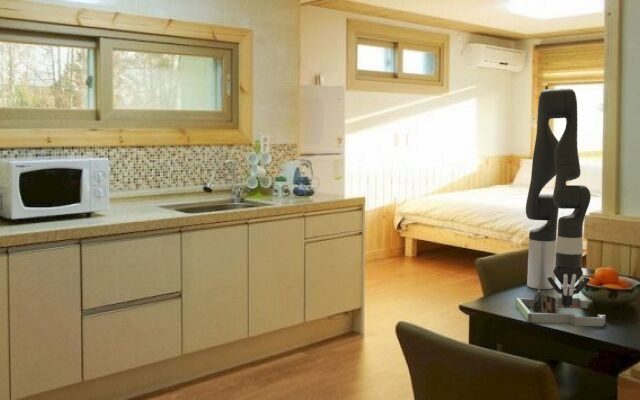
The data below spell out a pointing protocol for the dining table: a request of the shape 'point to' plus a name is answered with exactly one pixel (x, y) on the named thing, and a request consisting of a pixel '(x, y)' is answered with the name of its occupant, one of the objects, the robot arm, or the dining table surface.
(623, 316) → the dining table surface
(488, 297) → the dining table surface
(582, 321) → the track
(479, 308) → the dining table surface
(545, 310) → the marbled cake slice
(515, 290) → the dining table surface
